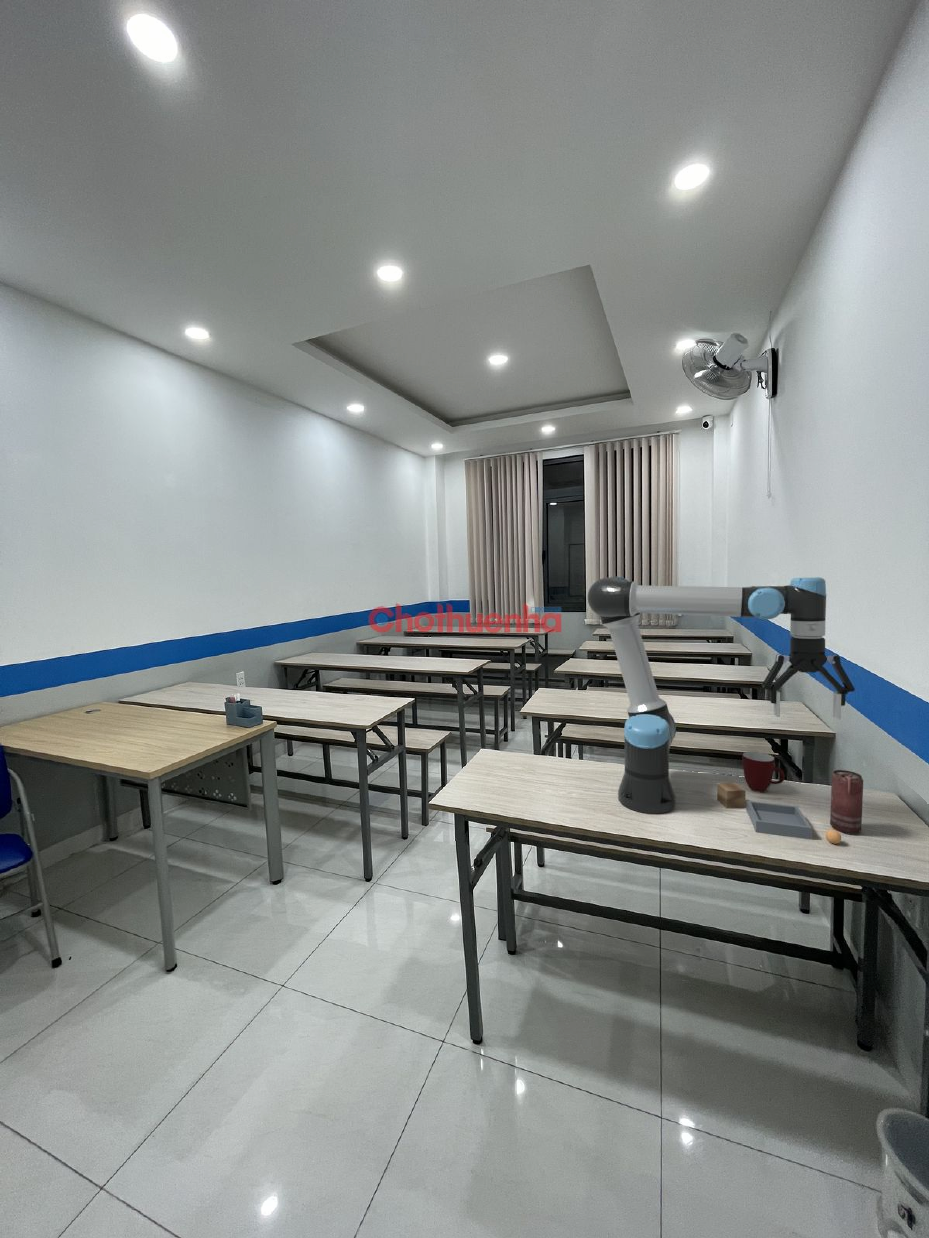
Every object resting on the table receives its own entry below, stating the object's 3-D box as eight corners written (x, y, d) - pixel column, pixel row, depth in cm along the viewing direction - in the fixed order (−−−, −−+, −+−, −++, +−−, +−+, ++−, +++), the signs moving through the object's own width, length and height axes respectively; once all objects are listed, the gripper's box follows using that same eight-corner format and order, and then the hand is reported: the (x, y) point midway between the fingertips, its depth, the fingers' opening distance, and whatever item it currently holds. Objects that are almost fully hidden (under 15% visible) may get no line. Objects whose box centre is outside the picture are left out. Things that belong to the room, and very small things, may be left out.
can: (835, 833, 119) (837, 777, 117) (826, 821, 124) (828, 767, 123) (865, 837, 116) (868, 780, 115) (855, 824, 122) (858, 770, 121)
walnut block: (726, 808, 133) (727, 790, 132) (717, 800, 138) (717, 783, 137) (745, 808, 133) (745, 790, 132) (735, 799, 138) (735, 782, 137)
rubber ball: (827, 844, 114) (828, 832, 113) (823, 838, 117) (823, 826, 116) (843, 847, 113) (843, 834, 112) (838, 840, 115) (838, 828, 115)
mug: (780, 786, 145) (781, 754, 144) (786, 798, 137) (787, 763, 136) (739, 782, 149) (740, 750, 148) (744, 793, 141) (744, 759, 140)
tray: (755, 831, 120) (756, 821, 120) (746, 810, 131) (746, 800, 131) (811, 839, 116) (812, 828, 116) (797, 816, 127) (797, 806, 127)
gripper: (757, 638, 128) (756, 718, 129) (872, 638, 120) (870, 722, 122) (749, 635, 135) (749, 710, 137) (858, 634, 127) (856, 714, 129)
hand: (806, 716), depth 129 cm, fingers open, 13 cm apart
